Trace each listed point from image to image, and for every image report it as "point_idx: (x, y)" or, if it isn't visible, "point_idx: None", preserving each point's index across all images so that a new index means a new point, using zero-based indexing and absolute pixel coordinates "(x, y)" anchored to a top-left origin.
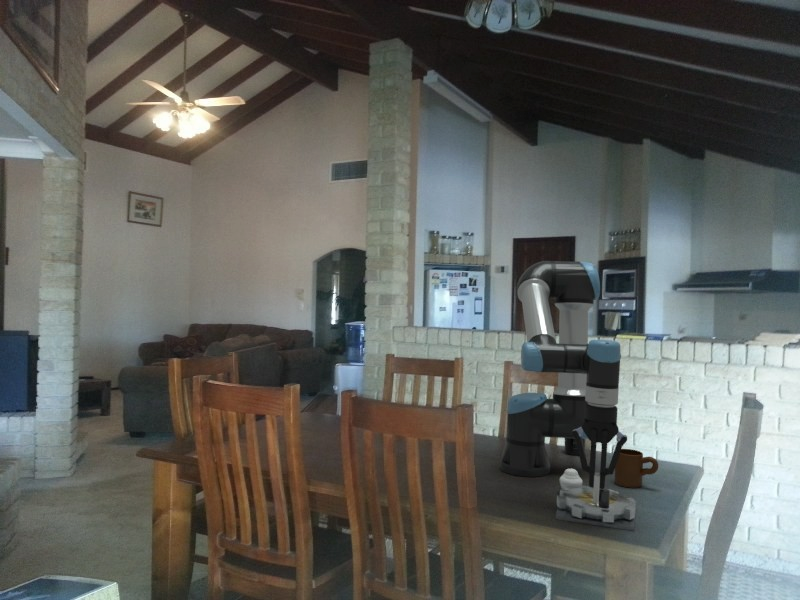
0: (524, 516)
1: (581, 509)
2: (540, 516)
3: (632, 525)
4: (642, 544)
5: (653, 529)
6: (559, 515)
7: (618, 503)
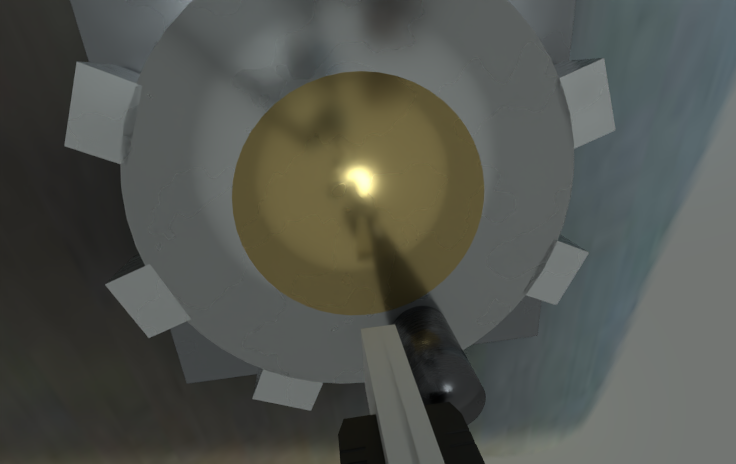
0: (50, 412)
1: (309, 405)
2: (116, 376)
3: (530, 318)
4: (541, 422)
5: (609, 269)
6: (203, 373)
7: (501, 231)
